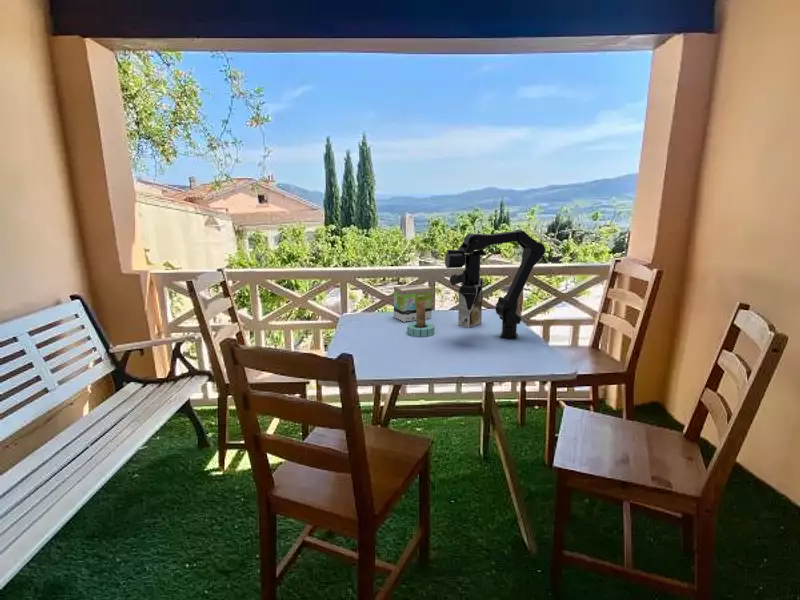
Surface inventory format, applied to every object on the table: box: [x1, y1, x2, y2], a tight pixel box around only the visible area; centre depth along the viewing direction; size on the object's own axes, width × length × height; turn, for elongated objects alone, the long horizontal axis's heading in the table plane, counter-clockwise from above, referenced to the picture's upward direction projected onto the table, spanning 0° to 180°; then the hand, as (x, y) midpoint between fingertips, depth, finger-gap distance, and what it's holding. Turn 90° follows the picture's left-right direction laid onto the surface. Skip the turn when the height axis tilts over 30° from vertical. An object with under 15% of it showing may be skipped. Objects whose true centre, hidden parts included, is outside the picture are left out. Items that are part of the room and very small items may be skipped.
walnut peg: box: [415, 301, 426, 328], centre depth 187 cm, size 4×4×13 cm
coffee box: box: [457, 288, 483, 328], centre depth 198 cm, size 9×6×16 cm
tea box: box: [393, 283, 433, 323], centre depth 210 cm, size 15×10×15 cm, turn 118°
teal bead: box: [406, 321, 436, 338], centre depth 188 cm, size 11×11×3 cm
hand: (471, 307), depth 177 cm, fingers open, 9 cm apart
